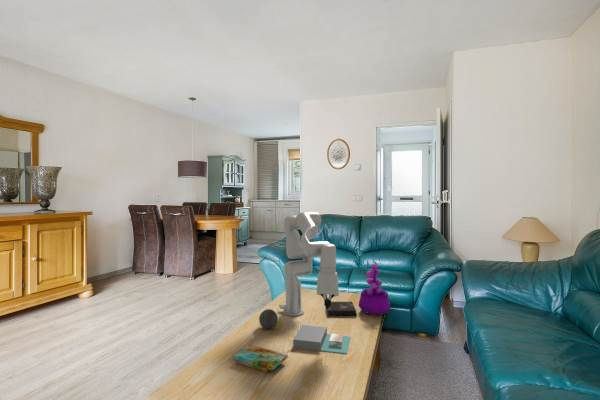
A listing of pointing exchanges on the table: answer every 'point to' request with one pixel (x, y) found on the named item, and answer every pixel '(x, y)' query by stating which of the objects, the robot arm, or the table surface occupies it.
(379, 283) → the decorative plant
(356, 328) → the table surface
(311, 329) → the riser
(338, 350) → the mat
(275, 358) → the puzzle game
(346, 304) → the portable cd player
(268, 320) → the decorative ball
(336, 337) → the tile
